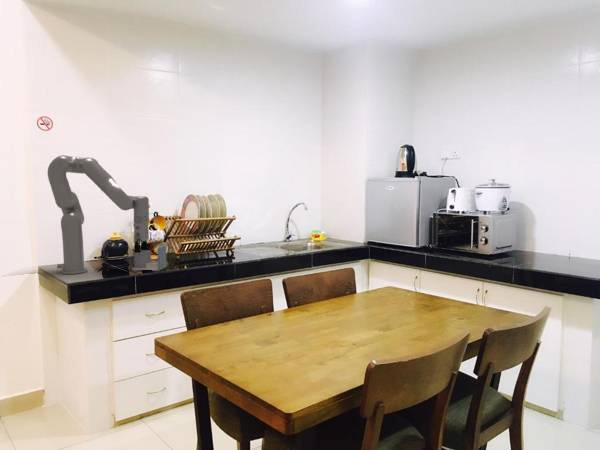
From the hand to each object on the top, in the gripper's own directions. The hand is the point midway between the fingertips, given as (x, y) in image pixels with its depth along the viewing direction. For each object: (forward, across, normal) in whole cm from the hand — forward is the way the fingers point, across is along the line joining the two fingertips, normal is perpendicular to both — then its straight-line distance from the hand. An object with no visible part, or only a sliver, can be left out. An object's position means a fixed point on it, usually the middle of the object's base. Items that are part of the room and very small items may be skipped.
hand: (140, 251), depth 266 cm
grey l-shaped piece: (+9, 0, -5) cm, 10 cm away
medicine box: (+9, 0, -1) cm, 9 cm away
